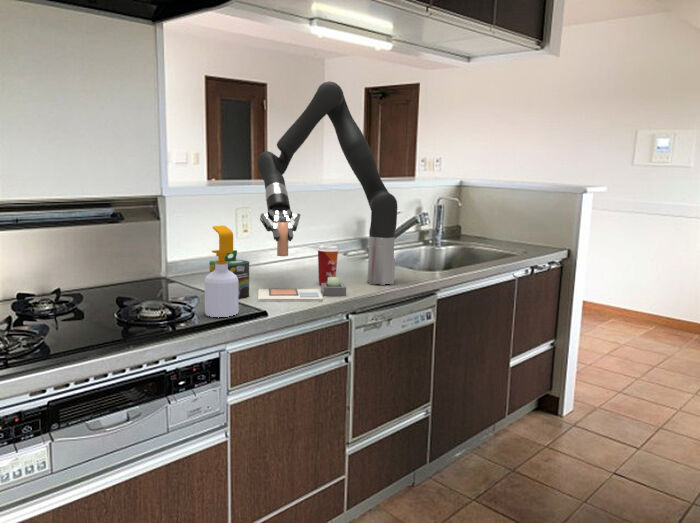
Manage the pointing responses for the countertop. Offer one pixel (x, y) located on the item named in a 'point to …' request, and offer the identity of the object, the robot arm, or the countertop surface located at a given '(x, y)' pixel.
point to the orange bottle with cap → (282, 237)
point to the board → (289, 295)
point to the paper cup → (327, 262)
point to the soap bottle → (222, 280)
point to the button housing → (333, 290)
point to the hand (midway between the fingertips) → (284, 239)
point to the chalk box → (237, 272)
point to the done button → (333, 281)
